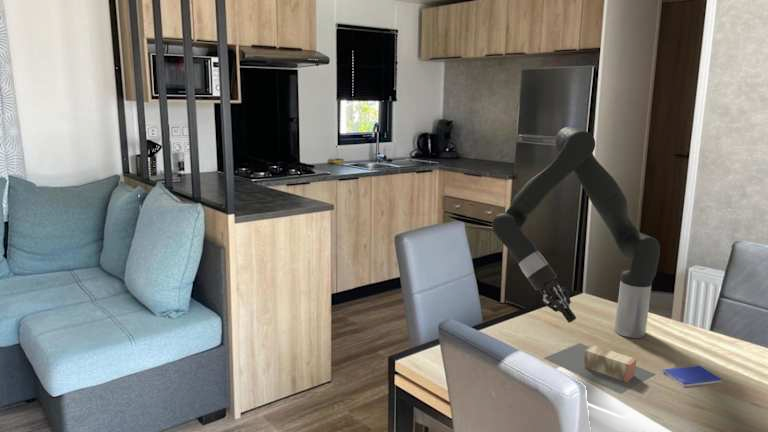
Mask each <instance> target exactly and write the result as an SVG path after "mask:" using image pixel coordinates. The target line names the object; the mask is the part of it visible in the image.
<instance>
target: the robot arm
mask: <svg viewBox="0 0 768 432" xmlns="http://www.w3.org/2000/svg"><path fill="white" fill-rule="evenodd" d="M595 139H596V138H595V137H594V136H593V134H592V133H590V132H589V131H586V130H585V129H582V128H579V127H576V126H565V127H563V128H562V129H560V130H559V131H558V133H557V135H556V137H555V147H556V149H557V152H558V153H559V154H558V155H557V156H556V158H555V159H554V160H553V161H552V162H551V163H550V164H549V165H548V166H547V167H546V168H544V169H543V170H541V171H540V172H539V173H537V174H536V175H535V176H533V177H532V178H530V179H529V180H528V181H527V182H526V183H525V184H524V186H523V187H522V188H521V189H520V190H519V191H518V192H517V194H515V195H514V198H512V201H511V205H510V206H509V207H508V209H507V210H506V211H505V212H504V213H499V214H497V215H496V216H494V217H493V219H492V222H491V227H492V231H493V232H494V234H495V235H496V237H497V238H498V239H499V241H500V242H502V244H503V245H504V246H505V247H506V248H507V250H508V251H509V252H510V254H511V256H512V257H513V259H514V260H515V261H516V263H517V264H518V266H519V268H520V270H521V272H522V273H523V274H524V276H525V277H526V279H527V280H528V282H529V283H530V284H531V286H532V287H533V288H534V290H535V291H538V290H539V291H540V294H541V295H542V297H543V298H542V299H541V301H540V302H541V303H542V304H543V305H545V306H546V307H548V308H549V309H551V310H552V311H554V312H555V313H557V312H559V313H561V315H562V316H563V317H564V318H565V319H566V321H567V322H568V323H571V322H572V323H573V322H574V321H575V320H576V319H577V316H576V314H574V312H573V311H572V310H571V308H570V304H571V303H572V302H571V297H570V294H569V290H568V288H567V286H563V287H562V286H561V285H560V283H558V281H557V280H556V279H557V277H558V276H557V273H555V271H554V270H553V268H552V267H551V266H550V264H549V262H548V261H547V260H546V259H545V257H544V256H543V254H541V252H540V251H539V250H538V249H537V247H536V246H535V245H534V243H533V242H532V240H530V239H529V238H528V237H527V236H526V235H525V234H524V233H523V232H524V231H523V232H522V230H521V229H522V227H523V226H524V224H525V223H526V221H527V220H528V218H529V217H530V215H531V214H533V213H534V211H535V210H536V209H537V208H538V207H539V205H540V204H541V203H542V202H543V201H544V200H545V199H546V197H547V196H548V195H549V194H550V193H551V192H552V191H553V190H554V189H555V188H556V187H557V186H558V185H559V184H560V183H561V182H562V181H563V180H564V179H566V177H567V176H569V175H570V174H571V173H572V172H574V173H575V175H576V177H577V178H578V179H577V180H578V181H579V183H580V185H581V187H582V188H583V190H584V192H585V193H586V195H587V197H588V199H589V200H590V202H591V204H592V206H593V207H594V208H595V210H596V211H597V213H598V214H599V216H600V218H601V219H602V221H603V222H604V224H606V226H607V228H608V230H609V231H610V233H611V236H612V237H613V239H614V241H615V243H616V246H617V248H618V250H619V252H620V253H621V255H622V256H623V257H624V258H625V259H628V260H629V261H631V265H630V269H628V270H623V271H622V272H621V274H620V279H619V280H620V281H619V282H620V283H619V289H618V291H619V292H618V299H617V306H616V315H615V323H614V332H615V333H616V334H617V335H620V336H623V337H626V338H630V339H642V338H644V337H645V336H646V331H647V326H648V325H647V324H648V317H649V316H648V315H649V309H650V308H649V307H650V299H651V293H652V284H653V280H654V279H655V277H656V275H657V270H658V265H659V262H660V261H659V260H660V255H661V254H660V253H661V247H660V246H661V245H660V243H659V241H658V240H657V239H656V238H655V237H653V236H650V235H647V234H645V233H642V232H640V231H639V230H638V228H636V227H635V225H634V223H633V222H632V220H631V219H630V216H629V213H628V209H629V208H628V200H627V198H626V196H625V194H624V192H623V190H622V188H621V187H620V185H619V183H618V182H617V181H616V179H614V177H613V176H612V175H611V174H610V173H609V171H607V170H606V168H605V167H603V166H602V164H601V163H600V162H599V161H598V160H597V159H596V158H595V155H594V154H593V153H594V151H595V148H596V140H595Z"/></svg>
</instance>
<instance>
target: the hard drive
mask: <svg viewBox="0 0 768 432" xmlns="http://www.w3.org/2000/svg"><path fill="white" fill-rule="evenodd" d="M661 371H663V375H665V376H667V377H668V378H669V379H671V380H672V381H674V382H675V383H677V384H678V385H680V386H681V387H691V386H700V385H708V384H709V385H710V384H718V382H719V383H722V378H720V377H719V376H717V375H716V374H714V373H713V372H711V371H710V370H708V369H706V368H704V367H702V366H701V365H695V366H684V367H683V366H682V367H675V368H673V367H672V368H662V369H661Z"/></svg>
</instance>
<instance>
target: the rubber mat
mask: <svg viewBox="0 0 768 432" xmlns="http://www.w3.org/2000/svg"><path fill="white" fill-rule="evenodd" d="M589 347H590V346H588V345H585V344H583V343H580V342H579V343H576V344H574V345H571V346H569V347H567V348H565V349H562V350H559V351H557V352H555V353H552V354H550V355H548V356H546V357H543V359H544V360H546V361H548V362H551V363H552V364H555V365H558V366H559V367H562V369H563V368H564V369H565V370H568V371H571V372H572V373H574V374H577V375H579V376H581V377H584V378H586V379H588V380H590V381H592V382H594V383H596V384H598V385H601V386H603V387H605V388H608V389H610V390H612V391H614V392H616V393H618V394H622V393H624V392H627V391H628V390H630V389H632V388H633V387H635V386H637V385H639V384H641V383H642V382H645V381H646V380H648V379H650V378H652V377H653V376H655V375H656V373H655V372H651V371H649V370H648V369H644V368H642V367H639V366H637V365H636V367H635V374H634V377H633V378H632V379H631V380H630V381H629V382H625V381H623V380H620V379H617V378H614V377H611V376H608V375H605V374H602V373H600V372H597V371H594V370H591V369H588V368H585V367H584V359H585V350H587V349H588V348H589Z"/></svg>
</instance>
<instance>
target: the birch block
mask: <svg viewBox="0 0 768 432" xmlns="http://www.w3.org/2000/svg"><path fill="white" fill-rule="evenodd" d="M588 347H589V348H588V349H587V350H585V359H584V367H585V368H588V369H591V370H594V371H597V372H600V373H602V374H605V375H608V376H611V377H614V378H617V379H620V380H623V381H625V382H629V381H630V380H631V379H632V378H633V377H634V374H635V367H636V366H637V358H634V357H631V356H628V355H625V354H622V353H619V352H615V351H612V350H610V349H606V348H603V347H600V346H596V345H593V344H592V345H591V346H588Z"/></svg>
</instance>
